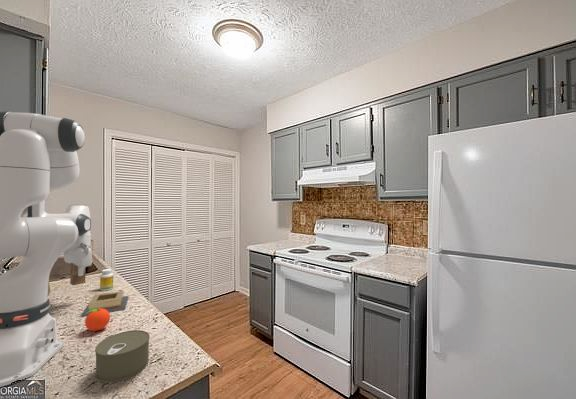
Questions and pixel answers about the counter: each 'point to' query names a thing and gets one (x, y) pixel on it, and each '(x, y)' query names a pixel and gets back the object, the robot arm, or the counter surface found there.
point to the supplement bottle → (106, 280)
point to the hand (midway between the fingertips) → (77, 274)
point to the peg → (73, 275)
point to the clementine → (97, 319)
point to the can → (122, 356)
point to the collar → (107, 302)
